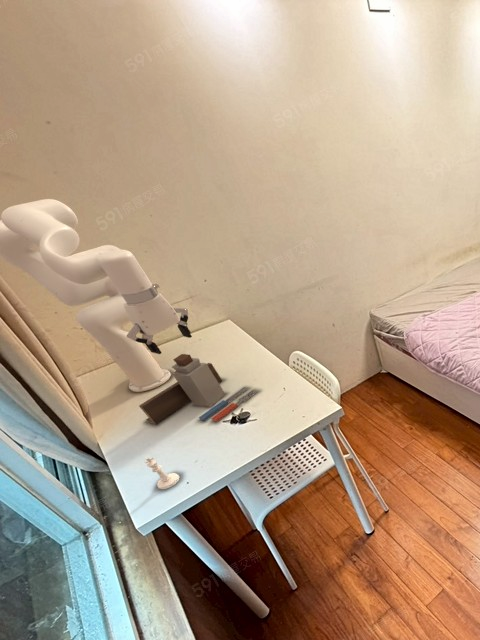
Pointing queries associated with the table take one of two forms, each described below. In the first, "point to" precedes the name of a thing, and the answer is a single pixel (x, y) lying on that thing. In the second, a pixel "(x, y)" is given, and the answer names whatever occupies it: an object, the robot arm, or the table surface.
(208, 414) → the knife
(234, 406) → the fork
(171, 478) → the chess piece
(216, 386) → the perfume bottle
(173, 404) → the shelf
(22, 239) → the robot arm
